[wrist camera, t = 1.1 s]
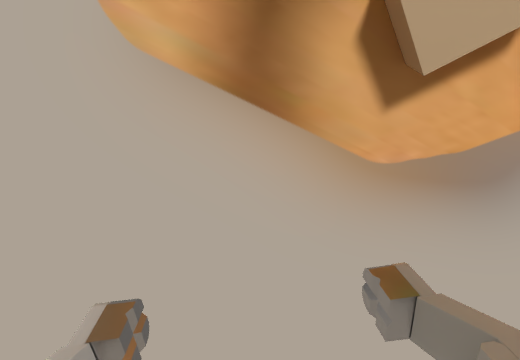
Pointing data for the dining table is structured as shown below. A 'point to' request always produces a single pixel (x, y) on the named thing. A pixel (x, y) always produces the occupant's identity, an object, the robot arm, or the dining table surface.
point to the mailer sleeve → (448, 28)
